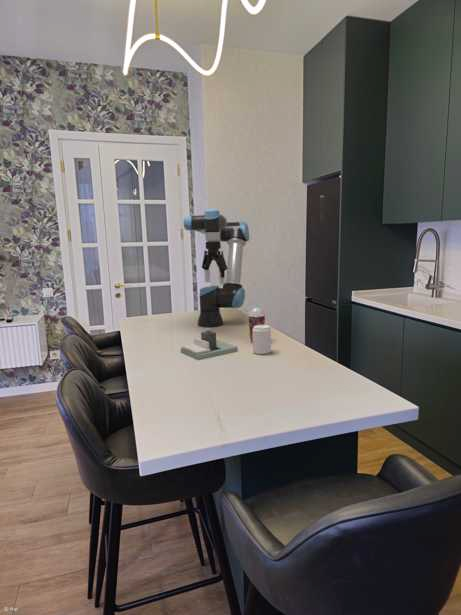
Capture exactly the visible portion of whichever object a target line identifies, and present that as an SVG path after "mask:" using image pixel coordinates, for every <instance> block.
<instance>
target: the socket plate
mask: <svg viewBox="0 0 461 615" xmlns="http://www.w3.org/2000/svg"><path fill="white" fill-rule="evenodd" d="M216 344H217V350H214V351H208V352H204V353H199V354H196V353H193V352H191V351H189V350H186V349H184V348H183V347H180V353H182V354H184V355H186V356H188V357H190V356H191V358H192V357H193V358H192V359H195V360H197V361H200V359H201V360H204V358H205V359H209V358H208V357H210V358H212V357H213V356H214V357H218V356H222V354H223V355H226V353H227V354H231V353H235V352H238V351H239V350H238V349H239V348H238V346H236V345H233V344H231V343H228V342H224V341H222V340H217V339H216ZM217 355H218V356H217ZM214 357H213V358H214Z"/></svg>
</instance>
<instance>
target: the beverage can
mask: <svg viewBox="0 0 461 615" xmlns="http://www.w3.org/2000/svg"><path fill="white" fill-rule="evenodd" d="M252 331H253V342H252V352H253V353H254V354H257V355H267V354H270V353H271V352H272V339H271V338H272V337H271V334H272V330H271V327H270V325H268V324H265V325H256V326H254V328H253V330H252Z"/></svg>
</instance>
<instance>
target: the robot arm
mask: <svg viewBox="0 0 461 615" xmlns="http://www.w3.org/2000/svg"><path fill="white" fill-rule="evenodd" d="M183 227H184V229H185V230H186V231H189V232H190V231H195V232H198V233H201V234H203V235H205V250H204V253H203V259H202V263H201V269H202V270H204V273H203V274H204V283H205V284H206V283H211V270H210V267H211V264H212V262H213V261H214V262H215V263H216V266H217V268H218V269H219V270H218V282H219V283H218V284H219V285H222V287H220V286H219V285H208V286H205V287H201V288H200V289H199V295H198V296H199V308H200V310H199V316H198V320H197V326H198V327H200V328H215V327H220V326H221V327H222V326H223V325H224V321H223V317H222V314H221V310H220V308H225V309H239V308H242V307H243V305H244V303H245V298H246V291H245V288H244V287H243V285H242V283H241V276H242V267H243V266H242V265H243V264H242V263H243V255H244V254H243V253H244V252H243V251H244V247H245V246H246V244H247V242H249V241H250V230H249V225H248V224H247V222H246V221H234V222H232V221H231V222H230V221H229V222H228V220H227V217H226V216H224V215H223V214H220V210H219V209H218V208H217V209H215V208H210V209H205V210H204V214H203V215H186V216H184V218H183ZM221 242H226V244H227V245H228V254H227V255H228V256H227V263H226V260H225V257H224V250H220V249H221V246H222V245H221V244H222V243H221ZM225 271H226V273H225ZM225 274H226V275H225Z"/></svg>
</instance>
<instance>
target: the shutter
mask: <svg viewBox="0 0 461 615" xmlns="http://www.w3.org/2000/svg"><path fill="white" fill-rule="evenodd" d="M193 341H194V343H192V344H187V345H186V344H185V345H182V347H181V348H184V349H186V350H189V351H191V352H193V353H196V354H199V353H204V352H208V351H210V349H209V342H207V341H204V340H201V338H199V337H194V340H193Z"/></svg>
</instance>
